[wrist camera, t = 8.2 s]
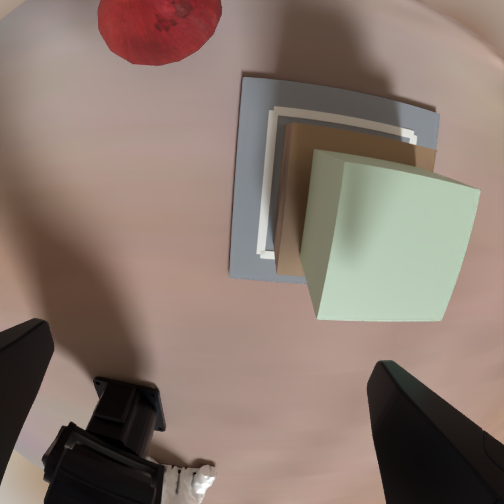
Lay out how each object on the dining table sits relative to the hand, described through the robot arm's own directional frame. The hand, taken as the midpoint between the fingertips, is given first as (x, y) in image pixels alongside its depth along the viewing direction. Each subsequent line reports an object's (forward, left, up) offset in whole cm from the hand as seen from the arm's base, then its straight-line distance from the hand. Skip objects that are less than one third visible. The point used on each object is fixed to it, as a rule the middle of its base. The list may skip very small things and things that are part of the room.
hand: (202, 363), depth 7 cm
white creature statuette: (-34, +5, -12) cm, 36 cm away
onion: (+11, +4, -12) cm, 17 cm away
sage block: (+2, -6, -8) cm, 10 cm away
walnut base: (+2, -6, -12) cm, 13 cm away
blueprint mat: (+2, -6, -12) cm, 14 cm away
